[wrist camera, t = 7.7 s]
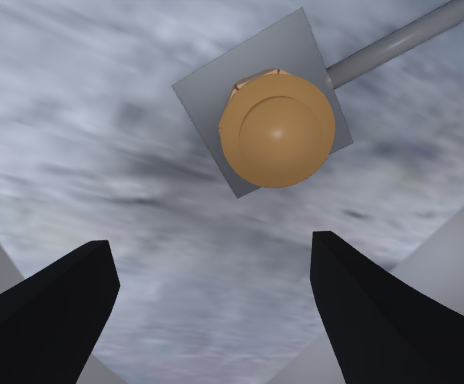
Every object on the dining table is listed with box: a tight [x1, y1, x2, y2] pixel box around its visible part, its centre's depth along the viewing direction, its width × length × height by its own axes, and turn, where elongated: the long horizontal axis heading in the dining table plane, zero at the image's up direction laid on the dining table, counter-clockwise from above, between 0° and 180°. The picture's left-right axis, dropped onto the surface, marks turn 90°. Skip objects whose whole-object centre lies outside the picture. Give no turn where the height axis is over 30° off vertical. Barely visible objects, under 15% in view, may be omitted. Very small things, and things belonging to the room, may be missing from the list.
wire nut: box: [218, 69, 335, 188], centre depth 14 cm, size 5×5×6 cm
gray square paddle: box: [172, 0, 464, 199], centre depth 15 cm, size 19×8×4 cm, turn 118°
